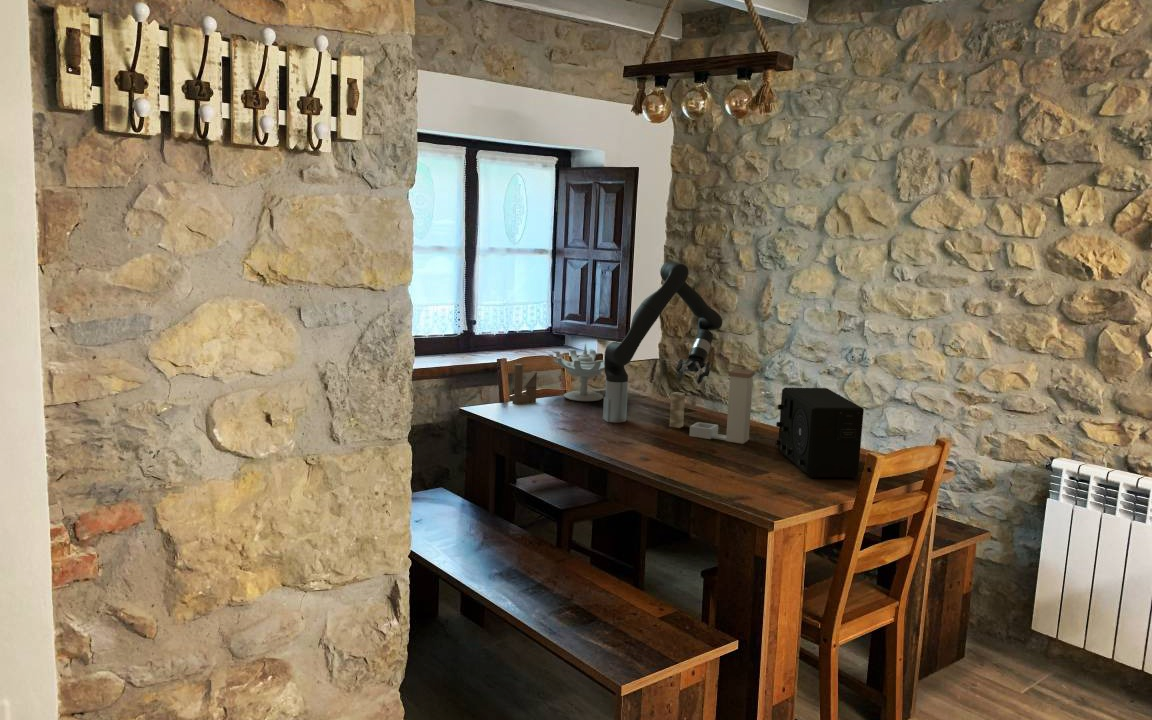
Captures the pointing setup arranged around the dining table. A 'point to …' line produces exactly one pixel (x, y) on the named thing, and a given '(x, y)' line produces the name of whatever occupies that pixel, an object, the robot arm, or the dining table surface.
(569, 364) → the candelabra
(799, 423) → the vintage radio
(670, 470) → the dining table surface
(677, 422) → the block
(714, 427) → the post
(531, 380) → the wooden block
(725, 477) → the dining table surface
